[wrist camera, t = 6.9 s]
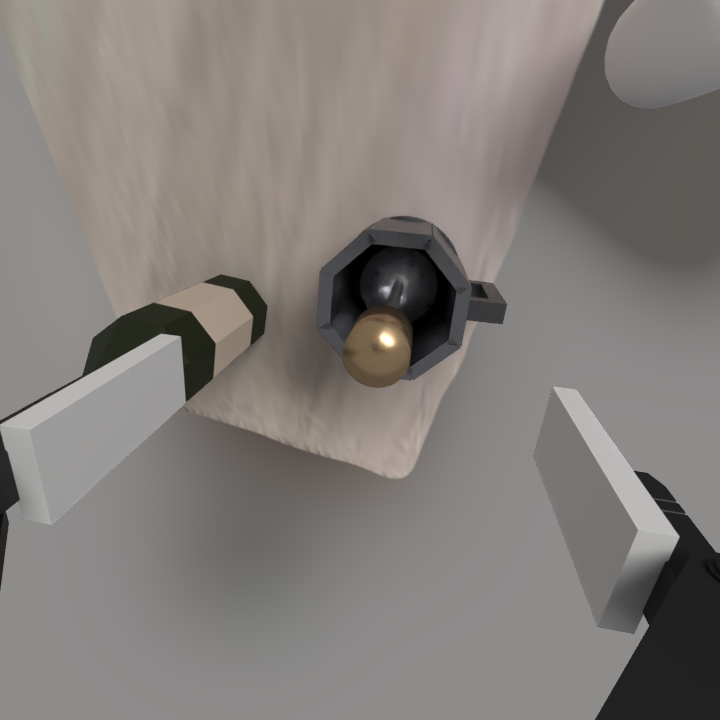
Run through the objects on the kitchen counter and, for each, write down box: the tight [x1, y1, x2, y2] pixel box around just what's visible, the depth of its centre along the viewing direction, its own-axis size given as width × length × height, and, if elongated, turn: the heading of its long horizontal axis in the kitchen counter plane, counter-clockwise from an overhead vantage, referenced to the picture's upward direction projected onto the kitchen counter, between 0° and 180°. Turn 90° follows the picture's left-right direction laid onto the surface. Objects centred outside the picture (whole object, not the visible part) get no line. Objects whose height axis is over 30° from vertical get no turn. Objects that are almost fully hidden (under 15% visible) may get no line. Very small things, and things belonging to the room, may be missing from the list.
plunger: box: [343, 246, 437, 388], centre depth 32 cm, size 7×7×19 cm
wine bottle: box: [0, 275, 267, 421], centre depth 35 cm, size 8×8×30 cm
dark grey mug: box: [317, 216, 507, 380], centre depth 39 cm, size 12×14×13 cm
